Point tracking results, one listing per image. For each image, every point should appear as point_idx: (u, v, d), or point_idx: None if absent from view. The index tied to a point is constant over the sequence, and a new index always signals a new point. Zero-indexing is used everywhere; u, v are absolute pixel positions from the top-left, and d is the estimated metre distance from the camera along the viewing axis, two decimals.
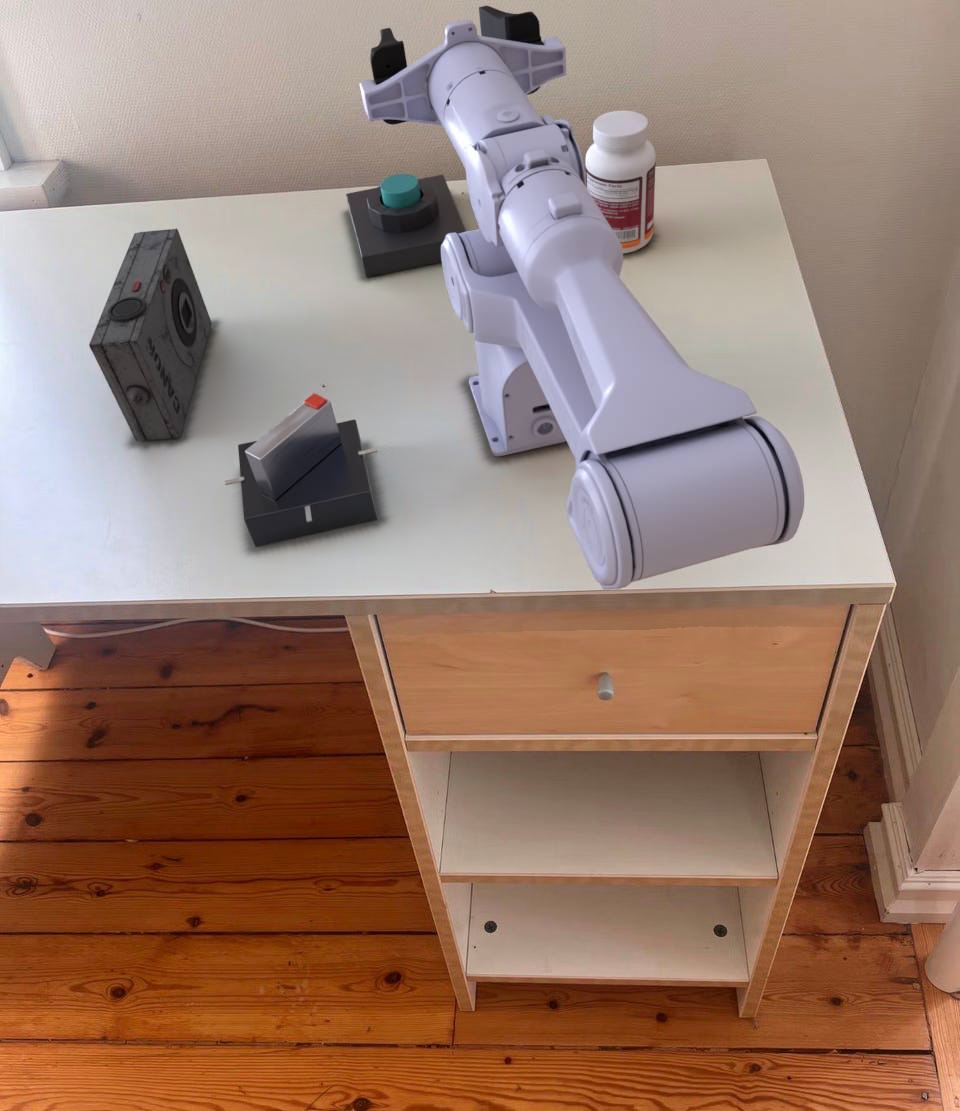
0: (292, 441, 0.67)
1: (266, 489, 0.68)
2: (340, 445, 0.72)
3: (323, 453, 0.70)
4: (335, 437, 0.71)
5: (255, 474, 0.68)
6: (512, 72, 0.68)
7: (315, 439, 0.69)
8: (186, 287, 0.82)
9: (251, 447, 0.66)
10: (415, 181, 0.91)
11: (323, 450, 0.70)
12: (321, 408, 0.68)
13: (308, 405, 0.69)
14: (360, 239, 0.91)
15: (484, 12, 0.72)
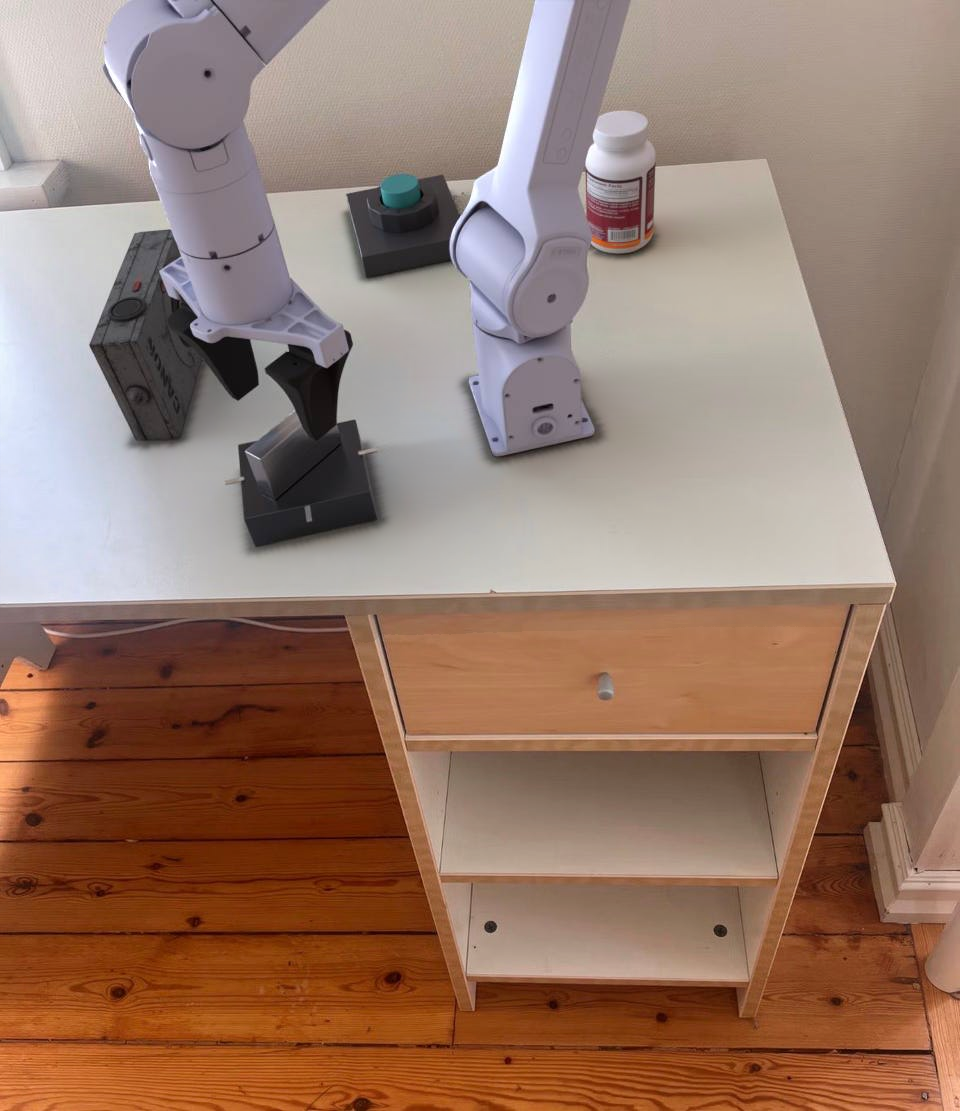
0: (292, 441, 0.67)
1: (266, 489, 0.68)
2: (340, 445, 0.72)
3: (323, 453, 0.70)
4: (335, 437, 0.71)
5: (255, 474, 0.68)
6: None
7: None
8: None
9: (251, 447, 0.66)
10: (415, 181, 0.91)
11: (323, 450, 0.70)
12: None
13: None
14: (360, 239, 0.91)
15: (229, 385, 0.66)
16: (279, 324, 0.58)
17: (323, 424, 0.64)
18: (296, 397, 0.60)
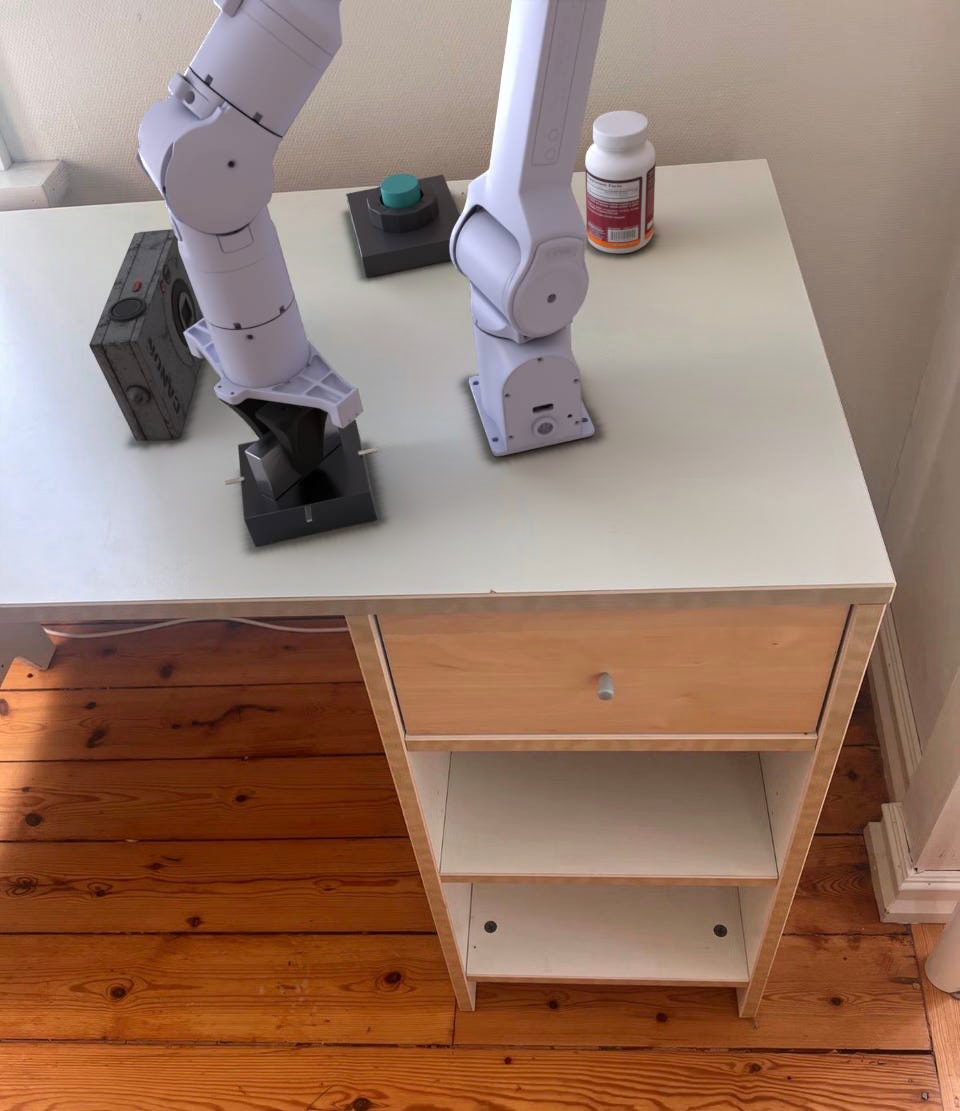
0: None
1: (266, 489, 0.68)
2: (340, 445, 0.72)
3: (323, 453, 0.70)
4: (335, 437, 0.71)
5: (255, 474, 0.68)
6: None
7: None
8: (186, 287, 0.82)
9: (251, 447, 0.66)
10: (415, 181, 0.91)
11: (323, 450, 0.70)
12: None
13: None
14: (360, 239, 0.91)
15: None
16: (298, 386, 0.62)
17: (310, 461, 0.68)
18: (284, 438, 0.65)
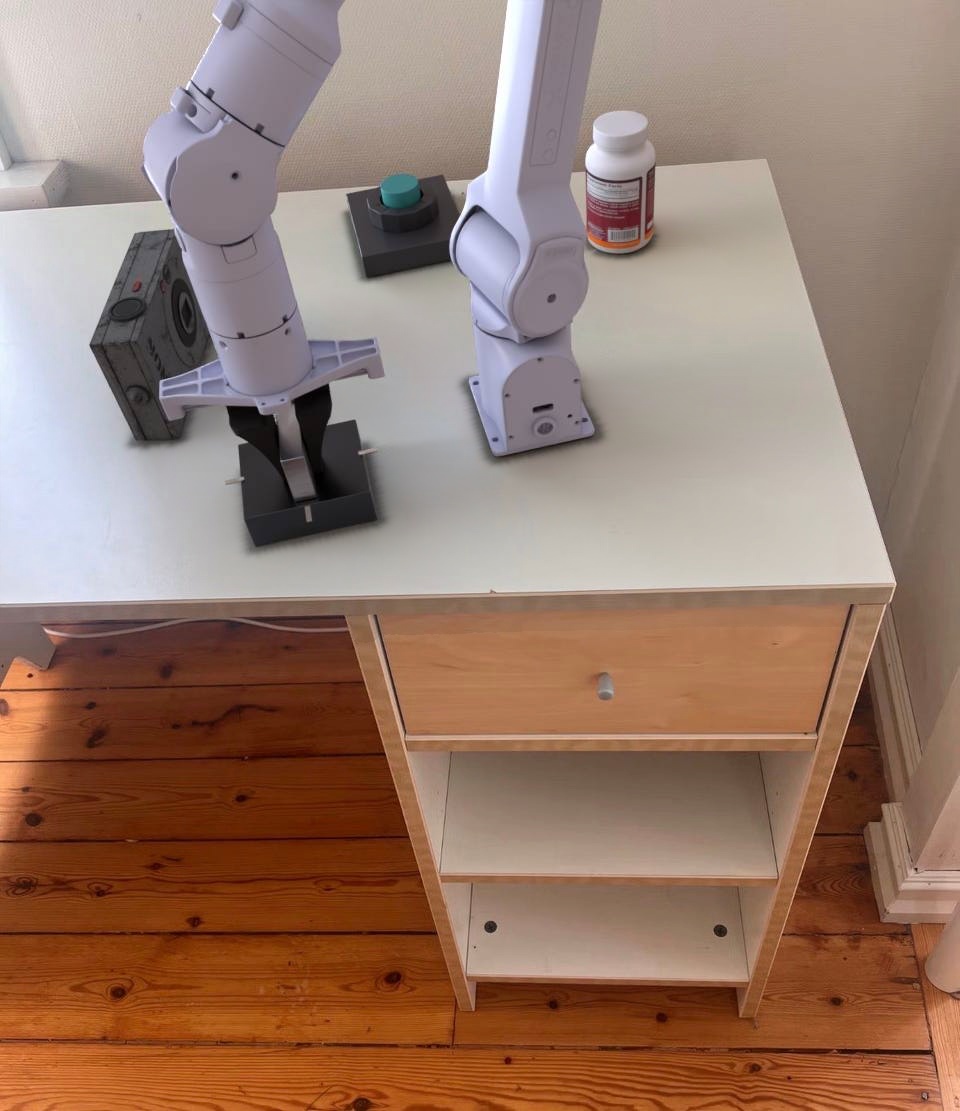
0: (302, 435, 0.68)
1: (306, 492, 0.68)
2: (340, 445, 0.72)
3: None
4: None
5: (292, 482, 0.67)
6: (219, 378, 0.63)
7: None
8: (186, 287, 0.82)
9: (282, 455, 0.65)
10: (415, 181, 0.91)
11: None
12: None
13: None
14: (360, 239, 0.91)
15: None
16: (321, 368, 0.64)
17: None
18: (318, 431, 0.66)
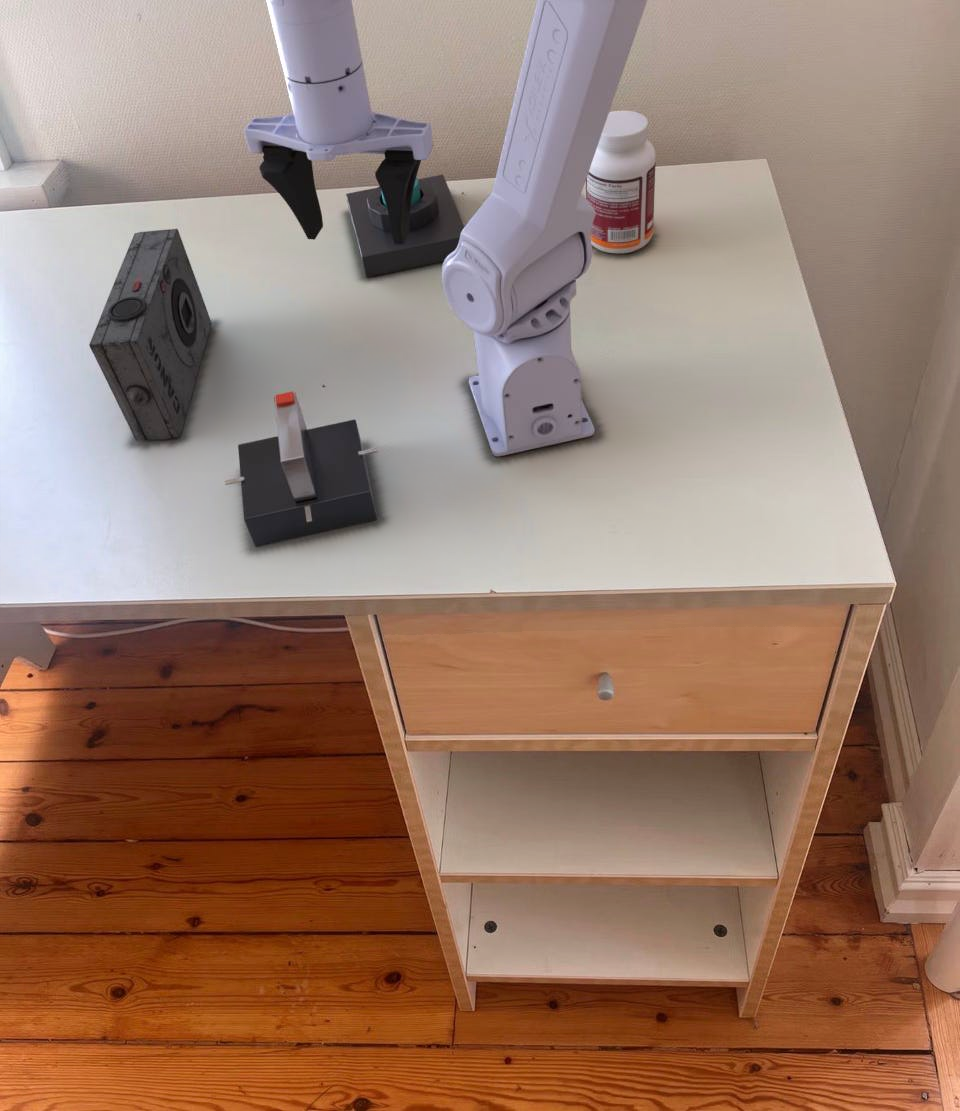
0: (302, 435, 0.68)
1: (306, 492, 0.68)
2: (340, 445, 0.72)
3: (309, 445, 0.71)
4: (306, 428, 0.72)
5: (292, 482, 0.67)
6: (294, 125, 0.74)
7: (304, 431, 0.70)
8: (186, 287, 0.82)
9: (282, 455, 0.65)
10: (415, 181, 0.91)
11: (308, 442, 0.71)
12: (296, 400, 0.69)
13: (282, 405, 0.69)
14: (360, 239, 0.91)
15: (309, 224, 0.79)
16: (375, 137, 0.72)
17: (404, 229, 0.78)
18: (397, 197, 0.74)
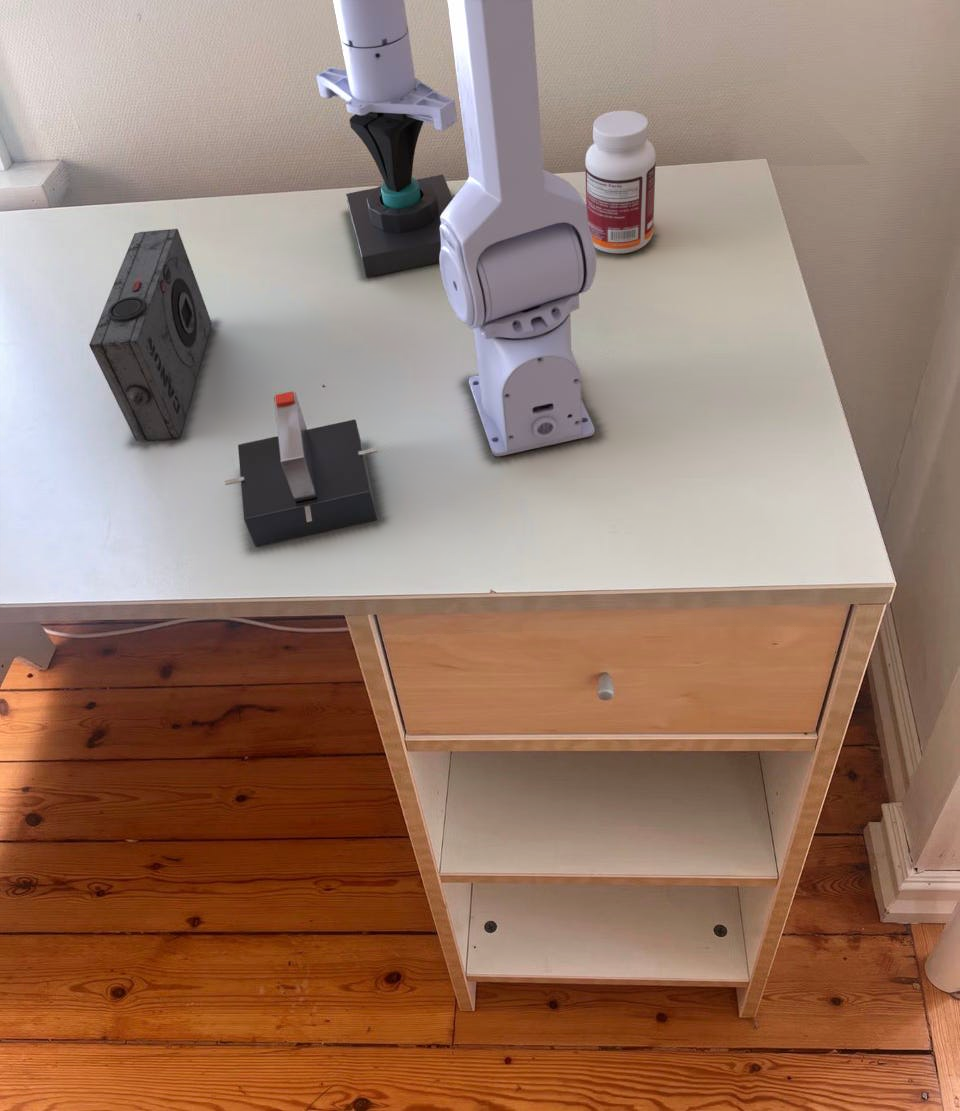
0: (302, 435, 0.68)
1: (306, 492, 0.68)
2: (340, 445, 0.72)
3: (309, 445, 0.71)
4: (306, 428, 0.72)
5: (292, 482, 0.67)
6: None
7: (304, 431, 0.70)
8: (186, 287, 0.82)
9: (282, 455, 0.65)
10: (415, 184, 0.91)
11: (308, 442, 0.71)
12: (296, 400, 0.69)
13: (282, 405, 0.69)
14: (360, 239, 0.91)
15: (388, 176, 0.89)
16: (408, 103, 0.83)
17: (403, 179, 0.90)
18: (388, 150, 0.86)
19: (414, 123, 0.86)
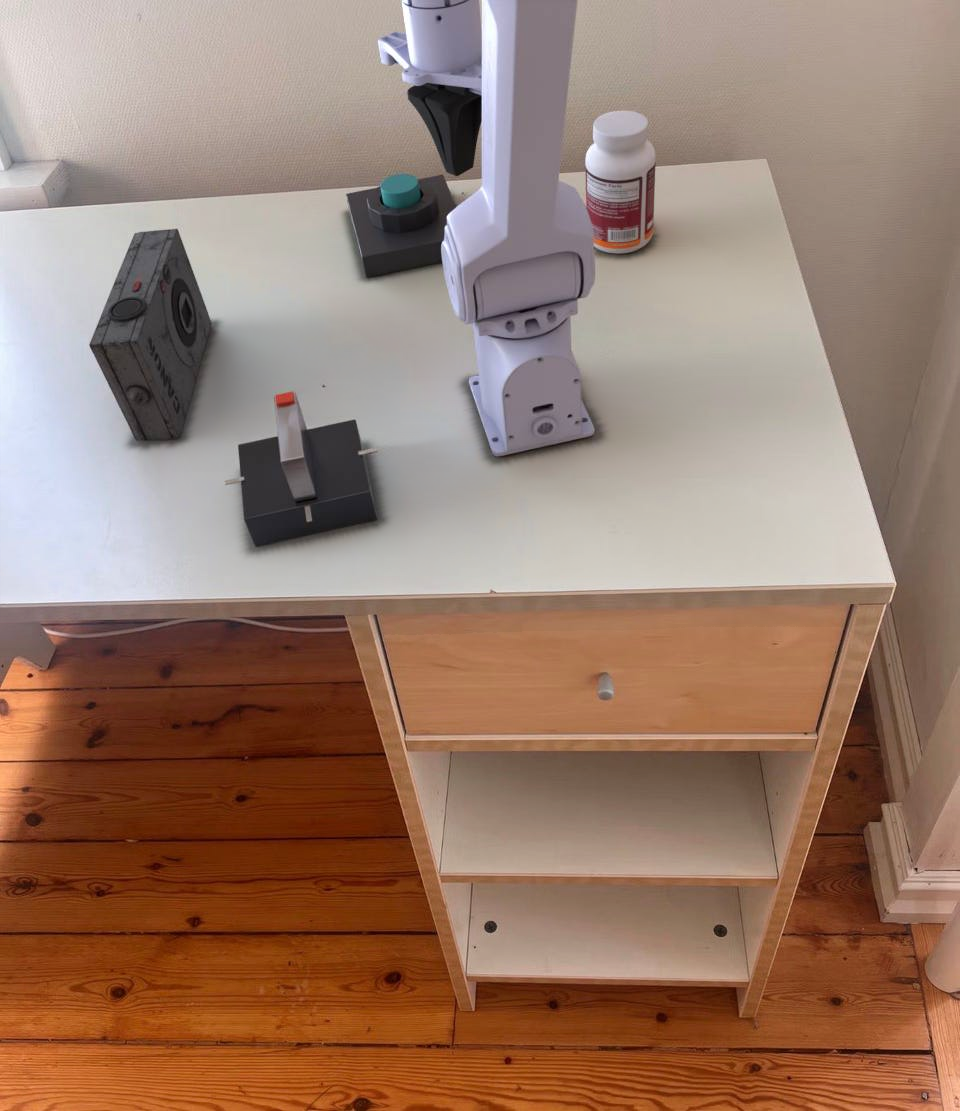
0: (302, 435, 0.68)
1: (306, 492, 0.68)
2: (340, 445, 0.72)
3: (309, 445, 0.71)
4: (306, 428, 0.72)
5: (292, 482, 0.67)
6: None
7: (304, 431, 0.70)
8: (186, 287, 0.82)
9: (282, 455, 0.65)
10: (415, 181, 0.91)
11: (308, 442, 0.71)
12: (296, 400, 0.69)
13: (282, 405, 0.69)
14: (360, 239, 0.91)
15: (446, 157, 0.80)
16: (471, 75, 0.73)
17: (463, 162, 0.80)
18: (446, 127, 0.77)
19: (479, 99, 0.77)
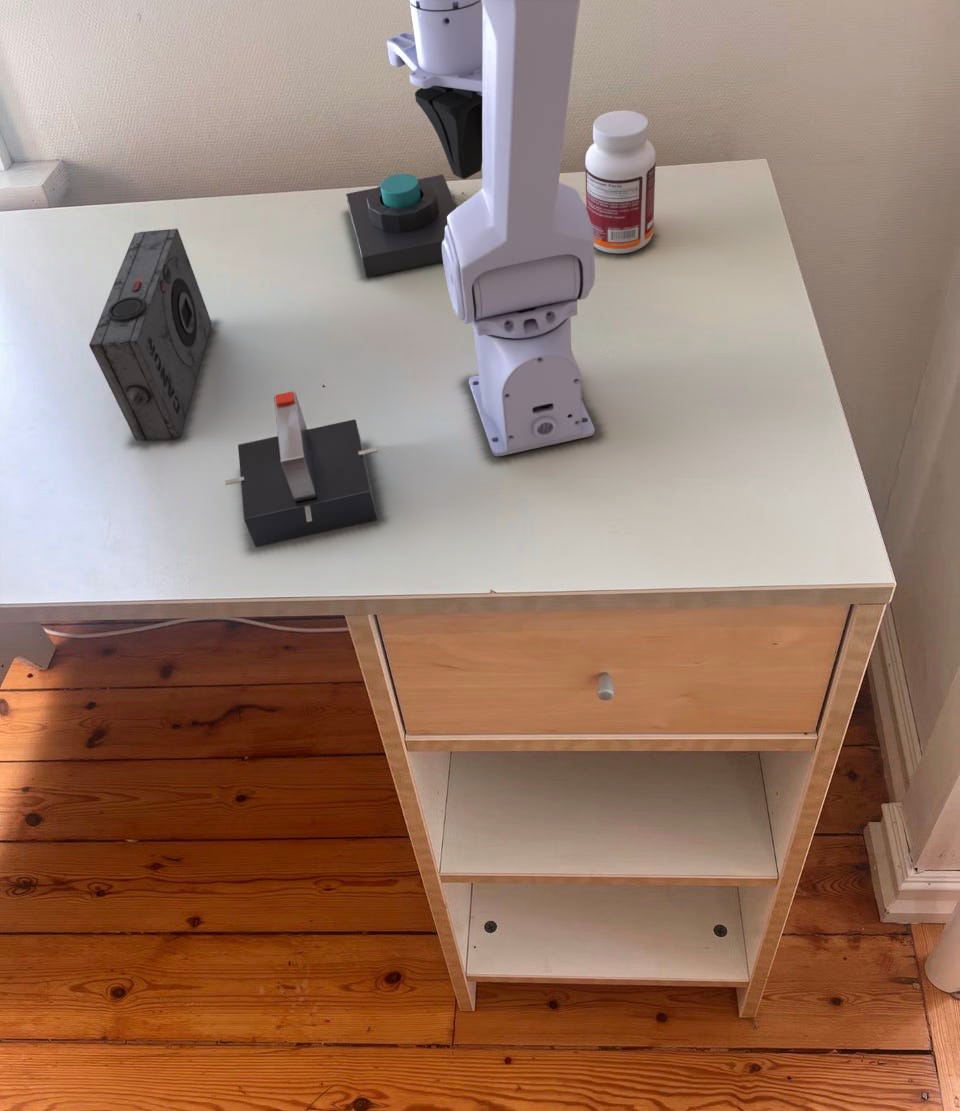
0: (302, 435, 0.68)
1: (306, 492, 0.68)
2: (340, 445, 0.72)
3: (309, 445, 0.71)
4: (306, 428, 0.72)
5: (292, 482, 0.67)
6: None
7: (304, 431, 0.70)
8: (186, 287, 0.82)
9: (282, 455, 0.65)
10: (415, 181, 0.91)
11: (308, 442, 0.71)
12: (296, 400, 0.69)
13: (282, 405, 0.69)
14: (360, 239, 0.91)
15: (454, 160, 0.79)
16: (479, 78, 0.72)
17: (470, 165, 0.80)
18: (453, 130, 0.76)
19: None
